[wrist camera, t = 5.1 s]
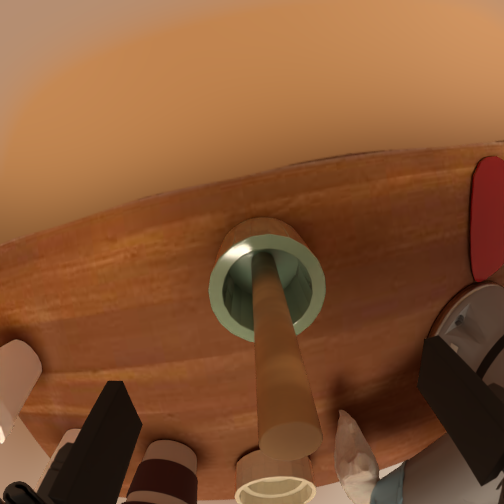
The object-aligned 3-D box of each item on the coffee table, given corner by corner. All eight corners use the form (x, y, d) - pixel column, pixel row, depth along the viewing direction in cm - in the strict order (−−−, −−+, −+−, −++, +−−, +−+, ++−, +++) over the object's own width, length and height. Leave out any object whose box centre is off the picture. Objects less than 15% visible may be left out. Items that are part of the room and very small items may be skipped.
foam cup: (52, 395, 35) (11, 455, 23) (5, 370, 34) (-40, 419, 22) (49, 344, 33) (-6, 405, 20) (-2, 319, 32) (-59, 365, 19)
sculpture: (315, 389, 36) (323, 468, 21) (351, 376, 35) (376, 451, 21) (347, 473, 36) (358, 548, 22) (376, 463, 36) (397, 536, 21)
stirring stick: (273, 250, 29) (323, 417, 9) (276, 273, 30) (322, 456, 10) (249, 253, 29) (254, 427, 9) (252, 276, 30) (262, 464, 10)
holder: (302, 211, 29) (321, 227, 21) (309, 295, 31) (327, 334, 24) (211, 223, 29) (199, 243, 22) (225, 306, 32) (219, 348, 24)
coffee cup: (131, 428, 36) (100, 513, 22) (201, 433, 36) (188, 528, 22) (148, 469, 39) (128, 544, 24) (210, 473, 39) (203, 555, 24)
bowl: (309, 438, 37) (316, 471, 31) (310, 478, 40) (315, 507, 34) (229, 446, 37) (228, 480, 31) (241, 485, 40) (241, 514, 34)
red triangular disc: (441, 262, 30) (442, 263, 30) (482, 140, 27) (484, 140, 27) (502, 295, 32) (503, 296, 32) (537, 193, 29) (539, 193, 28)
